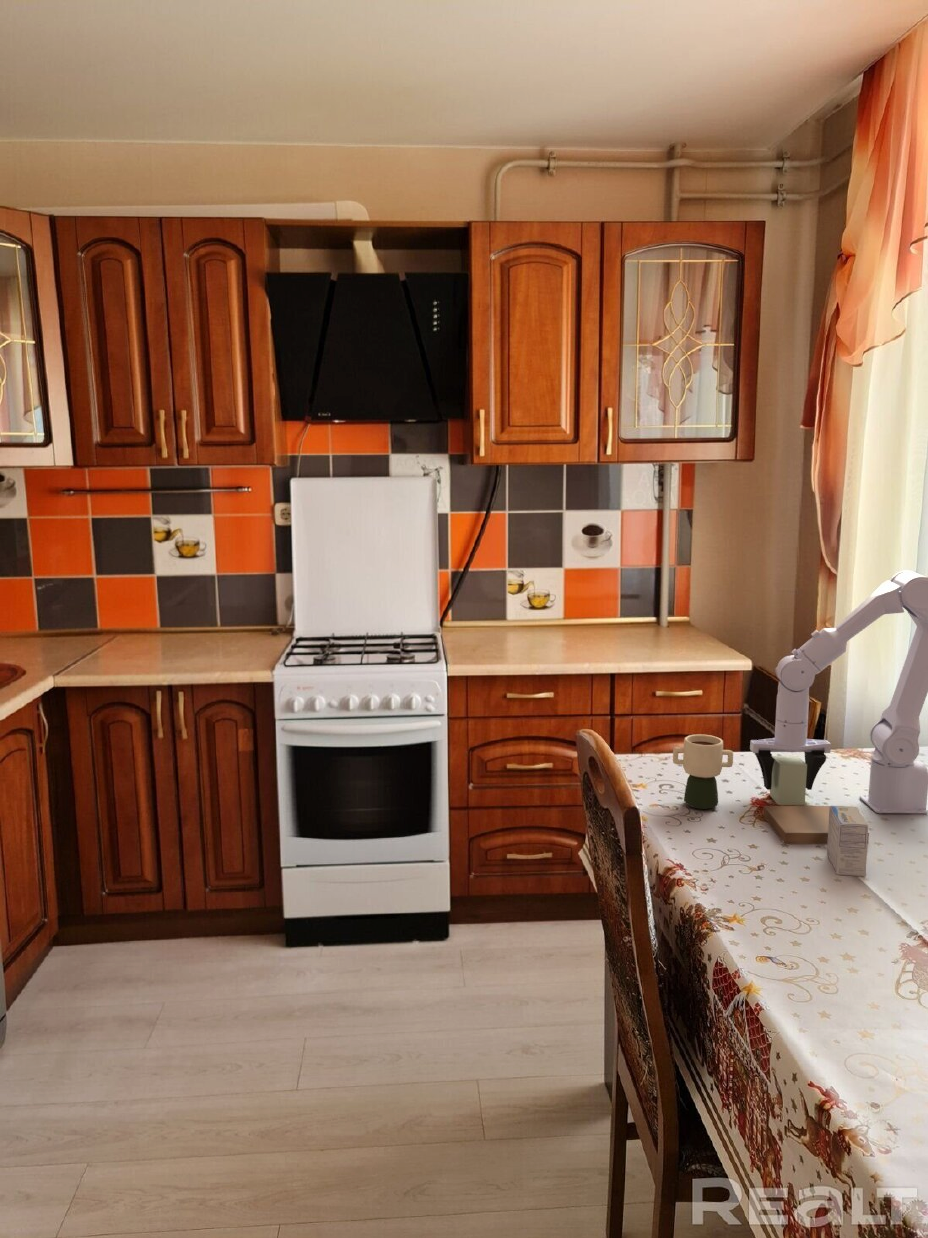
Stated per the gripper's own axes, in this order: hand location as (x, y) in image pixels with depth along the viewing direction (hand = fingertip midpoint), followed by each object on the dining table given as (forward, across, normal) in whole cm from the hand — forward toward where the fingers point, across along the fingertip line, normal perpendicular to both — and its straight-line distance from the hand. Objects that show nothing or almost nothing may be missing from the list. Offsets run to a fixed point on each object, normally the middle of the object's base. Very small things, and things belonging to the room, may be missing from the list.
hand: (787, 787), depth 169 cm
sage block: (+2, 0, 0) cm, 2 cm away
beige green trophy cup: (+3, +17, +3) cm, 18 cm away
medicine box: (+3, 0, +28) cm, 28 cm away
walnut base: (+2, 0, +14) cm, 14 cm away
